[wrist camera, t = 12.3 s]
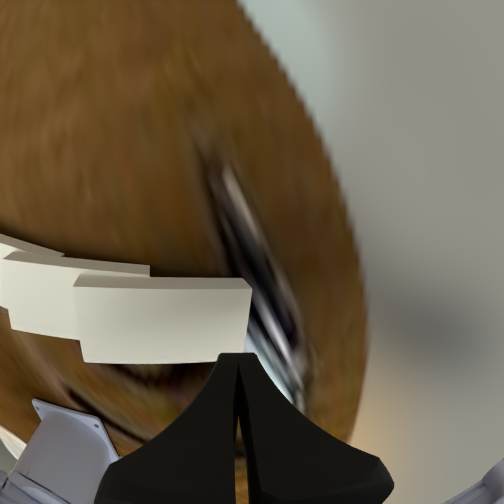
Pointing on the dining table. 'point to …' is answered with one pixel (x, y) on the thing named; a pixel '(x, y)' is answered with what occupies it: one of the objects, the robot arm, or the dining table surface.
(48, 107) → the dining table surface
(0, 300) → the ivory domino
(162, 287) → the ivory domino
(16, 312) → the ivory domino
